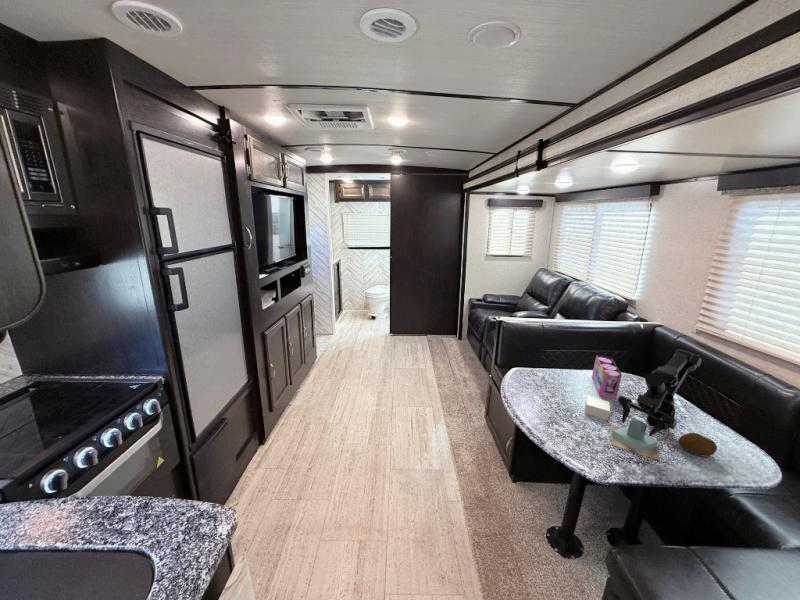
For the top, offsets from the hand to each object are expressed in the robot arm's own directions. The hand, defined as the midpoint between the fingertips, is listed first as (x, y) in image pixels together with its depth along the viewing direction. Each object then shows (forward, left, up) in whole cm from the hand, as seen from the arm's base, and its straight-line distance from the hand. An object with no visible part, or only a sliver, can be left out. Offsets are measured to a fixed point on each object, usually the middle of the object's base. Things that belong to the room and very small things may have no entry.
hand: (635, 429), depth 123 cm
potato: (-21, -8, -7) cm, 23 cm away
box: (+12, -17, -7) cm, 22 cm away
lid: (-1, -1, -6) cm, 6 cm away
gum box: (+9, -47, -7) cm, 48 cm away
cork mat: (-1, -1, -7) cm, 7 cm away
